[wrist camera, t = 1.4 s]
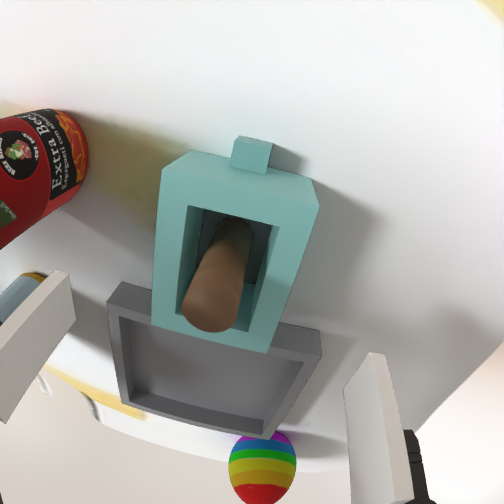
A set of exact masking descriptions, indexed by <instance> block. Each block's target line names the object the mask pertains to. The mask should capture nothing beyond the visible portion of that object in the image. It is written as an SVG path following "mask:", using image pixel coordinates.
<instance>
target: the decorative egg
mask: <svg viewBox="0 0 504 504" xmlns="http://www.w3.org/2000/svg"><path fill="white" fill-rule="evenodd" d="M295 472H296V455H295V451H294V449H293V446H292V445H291V443H290V442H289V440H288V439H287V438H286V437H285V436H284V435H282V434H280V433H277V432H274V434H273V435H272V436H271V438H270V439H269V440H266V439H259V438H253V437H247V436H242V437H241V438H240V439H239V440H238V441H237V443H236V444H235V445H234V447H233V449H232V451H231V454H230V458H229V477H230V481H231V484H232V486H233V488H234V490H235V492H236V493H237V495H238V496H239V497H240V498H241V500H242V501H244V502H245V503H246V504H274V503H275V502H277V501H278V500H279V499H281V498H282V496H283V495H284V494H285V493H286V492H287V491H288V489H289V487H290V486H291V484H292V481H293V479H294V476H295Z"/></svg>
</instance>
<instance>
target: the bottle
mask: <svg viewBox="0 0 504 504" xmlns="http://www.w3.org/2000/svg"><path fill="white" fill-rule="evenodd" d="M45 279H46V278H44V277H42V276H40V275H38V274H33V273H24V274H22V275H21V276H19V277H18V278H17V279H16V280H15V281H14V282H13V283H12V284H11V285H10V286H9V287H8V288H6V289H5V290H4V291H3V292H2V293H1V294H0V321H1V322H3V323H4V322H5V321H6V320H7V319H8V318H9V316H10V315H11V314H12V313H13V312H14V311H15V310H16V309H17V308H18V307H19V306H20V305H21V304H22V302H23V301H24V300H25V299H26V298H27V297H28V296H29V295H30V294H31V293H32V292H33V291H34V290H35V289H36V288H37V287H38V286H39V285H40V284H41V283H42V282H43V281H44V280H45Z"/></svg>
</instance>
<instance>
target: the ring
mask: <svg viewBox="0 0 504 504" xmlns="http://www.w3.org/2000/svg"><path fill="white" fill-rule="evenodd" d="M272 144H273V143H270V142H265V141H261V140H257V139H253V138H248V137H244V136H239V137H238V138H237V139H235V142H234V146H233V151H232V155H231V158H227V157H223V156H218V155H213V154H209V153H204V152H199V151H193V150H191V151H189V152H187V153H186V154H184V155H183V156H181V157H180V158H178V159H177V160H175V161H173V162H172V163H170V164H169V165H167V166H166V167H164V168H163V169H162V174H161V182H160V191H159V200H158V210H157V221H156V232H155V245H154V261H153V280H152V310H151V325H154V326H158V327H161V328H165V329H168V330H172V331H175V332H179V333H182V334H186V335H190V336H194V337H197V338H201V339H205V340H209V341H213V342H217V343H221V344H225V345H230V346H234V347H238V348H243V349H247V350H252V351H256V352H261V353H267V351H268V348H269V346H270V343H271V341H272V338H273V335H274V333H275V330H276V328H277V325H278V323H279V320H280V317H281V315H282V312H283V309H284V307H285V304H286V301H287V299H288V296H289V293H290V291H291V288H292V285H293V282H294V280H295V277H296V274H297V271H298V269H299V266H300V263H301V260H302V257H303V254H304V252H305V249H306V246H307V243H308V240H309V237H310V234H311V231H312V228H313V225H314V222H315V219H316V216H317V213H318V210H319V207H320V205H319V202H318V199H317V196H316V193H315V190H314V187H313V184H312V181H311V178H308V177H304V176H301V175H297V174H293V173H290V172H286V171H282V170H278V169H274V168H270V167H267V165H268V161H269V157H270V153H271V149H272ZM205 209H208V210H212V211H217V212H221V213H225V214H229V215H233V216H238V217H242V218H246V219H250V220H254V221H258V222H262V223H266V224H270V225H272V227H271V231H270V235H269V238H268V242H267V245H266V249H265V252H264V256H263V259H262V263H261V266H260V270H259V273H258V277H257V280H256V284H255V285H254V284H250V283H246V282H244V283H243V288H242V293H241V298H240V303H239V308H238V313H237V317H236V321H235V323H234V324H233V326H232V327H231V328H229V329H228V330H226V331H223V332H218V333H210V332H205V331H202V330H199V329H197V328H195V327H194V326H193V325H191V324H190V323H189V322H188V321H187V320H186V318H185V317H184V314H183V312H182V303H183V300H184V298H185V296H186V293H187V291H188V289H189V287H190V285H191V282H192V280H193V278H194V276H195V273H196V271H197V270H195V266H196V259H197V252H198V246H199V240H200V233H201V227H202V221H203V215H204V210H205Z"/></svg>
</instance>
